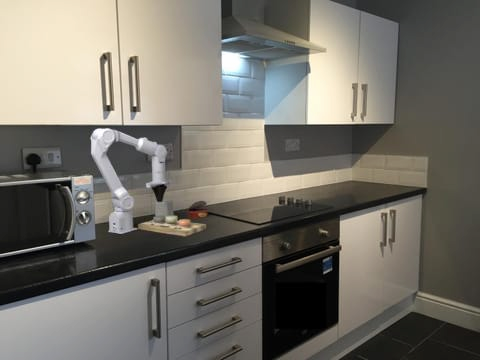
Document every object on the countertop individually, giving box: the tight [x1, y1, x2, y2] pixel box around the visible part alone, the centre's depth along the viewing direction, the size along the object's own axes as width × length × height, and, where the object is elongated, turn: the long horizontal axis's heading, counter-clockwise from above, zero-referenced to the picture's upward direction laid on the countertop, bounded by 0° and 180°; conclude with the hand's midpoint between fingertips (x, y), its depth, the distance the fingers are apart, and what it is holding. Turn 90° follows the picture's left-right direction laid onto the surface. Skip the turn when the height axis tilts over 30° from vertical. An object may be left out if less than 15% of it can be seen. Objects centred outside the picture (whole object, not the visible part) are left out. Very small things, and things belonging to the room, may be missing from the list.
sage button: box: [166, 214, 179, 223], centre depth 182 cm, size 5×5×2 cm
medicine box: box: [154, 198, 174, 219], centre depth 205 cm, size 8×4×9 cm, turn 59°
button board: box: [137, 219, 207, 237], centre depth 182 cm, size 14×26×2 cm, turn 59°
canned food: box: [187, 200, 209, 219], centre depth 208 cm, size 11×10×10 cm
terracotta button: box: [178, 218, 192, 226], centre depth 179 cm, size 5×5×2 cm
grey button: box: [152, 216, 165, 223], centre depth 186 cm, size 5×5×2 cm
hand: (159, 201), depth 190 cm, fingers closed
